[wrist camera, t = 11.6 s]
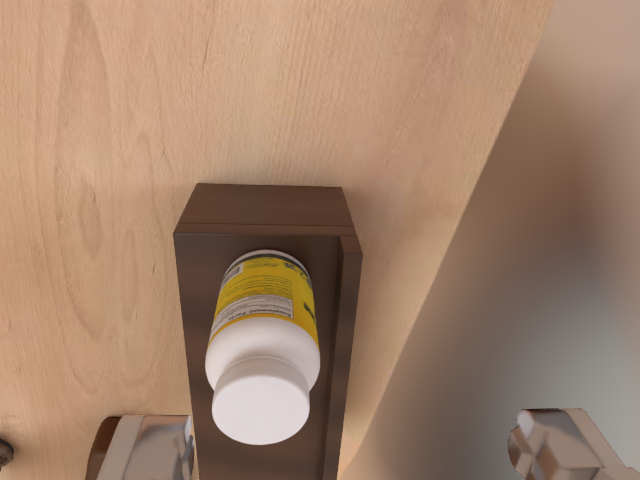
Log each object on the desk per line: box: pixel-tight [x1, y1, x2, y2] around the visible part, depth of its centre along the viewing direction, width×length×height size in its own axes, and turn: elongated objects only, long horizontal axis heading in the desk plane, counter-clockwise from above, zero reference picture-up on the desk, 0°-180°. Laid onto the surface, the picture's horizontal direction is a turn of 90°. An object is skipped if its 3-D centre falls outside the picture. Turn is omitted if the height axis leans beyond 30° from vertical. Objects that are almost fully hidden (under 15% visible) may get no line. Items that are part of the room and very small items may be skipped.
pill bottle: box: [205, 250, 320, 445], centre depth 26 cm, size 6×6×11 cm
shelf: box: [173, 184, 363, 480], centre depth 38 cm, size 28×12×11 cm, turn 177°
